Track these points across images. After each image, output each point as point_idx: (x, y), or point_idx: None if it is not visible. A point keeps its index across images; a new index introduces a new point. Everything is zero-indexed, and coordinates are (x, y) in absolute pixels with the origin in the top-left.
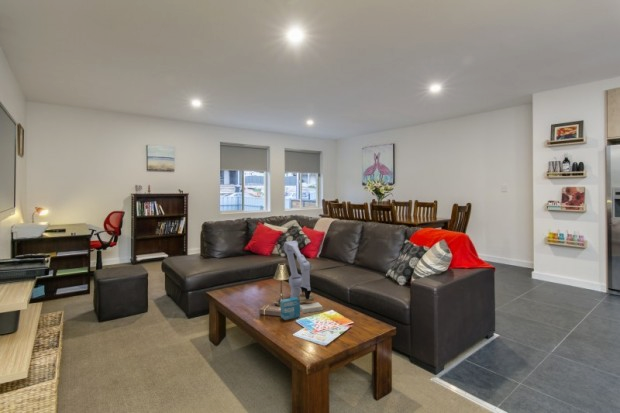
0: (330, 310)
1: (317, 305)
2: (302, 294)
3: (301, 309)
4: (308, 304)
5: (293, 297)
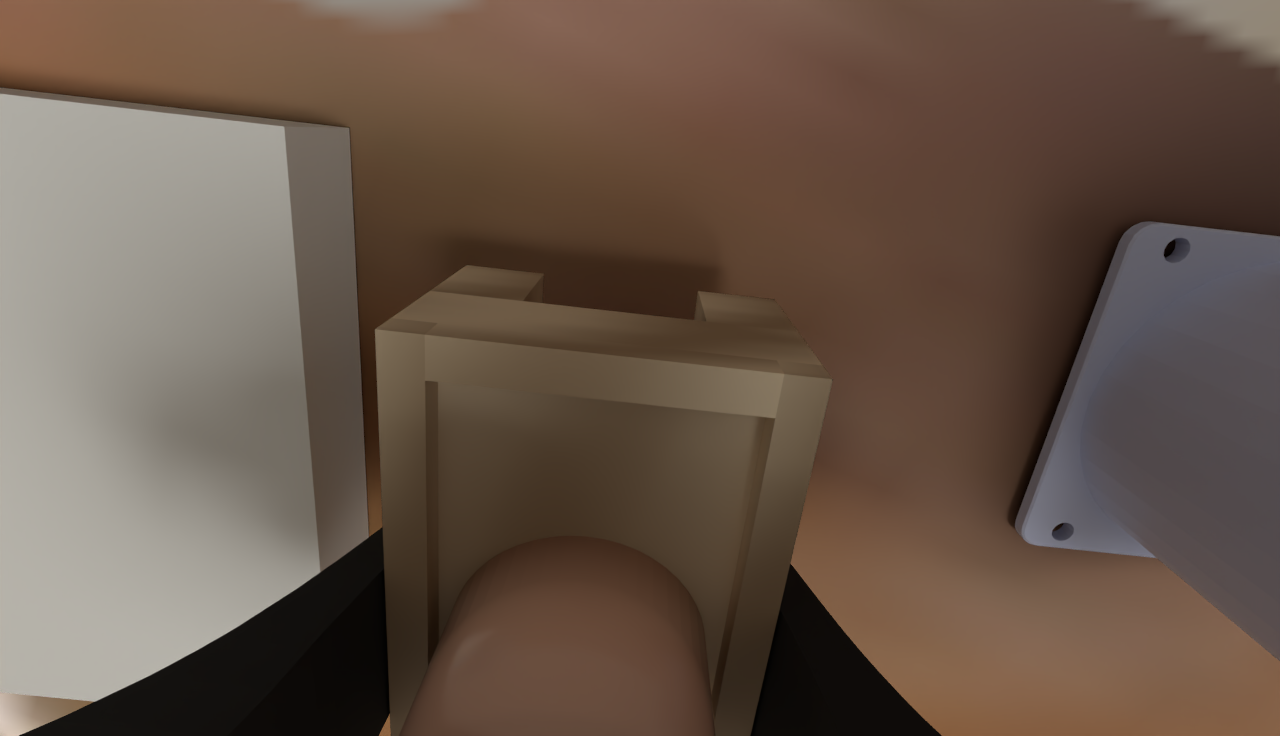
0: (13, 726)
1: (86, 616)
2: (748, 577)
3: (91, 100)
4: (245, 439)
5: (1268, 297)
